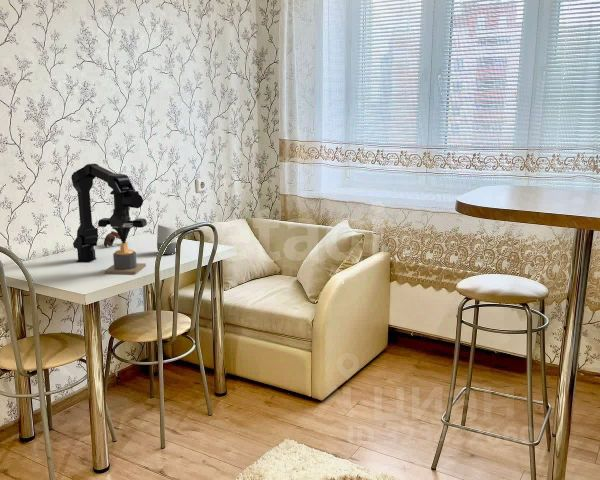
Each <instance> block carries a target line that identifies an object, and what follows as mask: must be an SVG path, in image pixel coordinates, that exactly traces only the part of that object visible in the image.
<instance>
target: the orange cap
mask: <svg viewBox="0 0 600 480" xmlns="http://www.w3.org/2000/svg"><path fill="white" fill-rule="evenodd" d="M133 251H134V249H129V248H128V242H127V241H126V242H125V243H122V242H121V243H120V244H119V249H117V250H116V251H115V252H114V253H115V254H116V255H130V254H133Z"/></svg>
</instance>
